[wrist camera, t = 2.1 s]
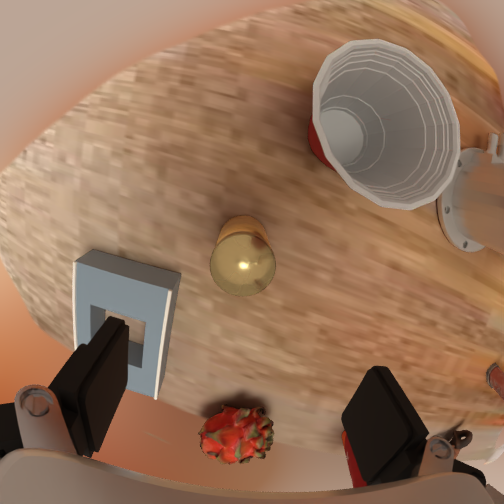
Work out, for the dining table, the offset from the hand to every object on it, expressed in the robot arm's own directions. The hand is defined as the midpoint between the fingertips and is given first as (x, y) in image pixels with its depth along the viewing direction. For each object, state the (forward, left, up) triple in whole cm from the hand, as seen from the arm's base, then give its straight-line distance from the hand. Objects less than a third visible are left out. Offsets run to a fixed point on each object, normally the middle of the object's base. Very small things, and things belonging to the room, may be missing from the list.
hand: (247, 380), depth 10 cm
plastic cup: (-13, +6, -19) cm, 23 cm away
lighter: (+12, +52, -19) cm, 56 cm away
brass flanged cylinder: (-1, 0, -19) cm, 19 cm away
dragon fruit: (+23, +5, -19) cm, 30 cm away
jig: (+11, -10, -19) cm, 24 cm away
